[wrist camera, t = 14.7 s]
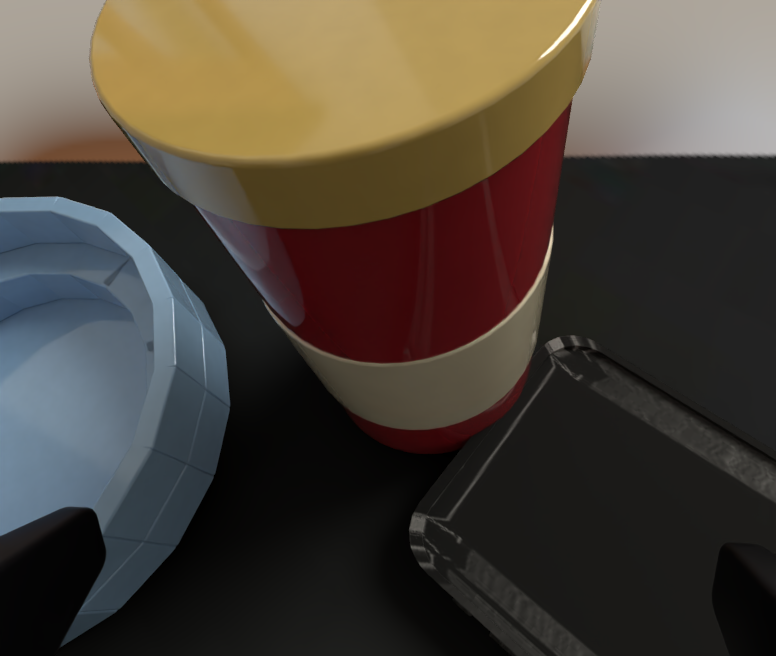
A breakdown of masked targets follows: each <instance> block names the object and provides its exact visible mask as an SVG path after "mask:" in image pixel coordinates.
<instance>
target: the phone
mask: <svg viewBox="0 0 776 656" xmlns="http://www.w3.org/2000/svg"><path fill="white" fill-rule="evenodd" d="M522 389H523V390H522V392H521V394H520V396H519V397H518V399H517V400H516V401H515V403H514V404H513V406H512V407H511V408H510V409H509V410H508V411H507V413H506V414H505V415H504V416H503V417H502V418H501V419H500V418H499V419H498V420H496V421H495V422H494V423H493V424H491V425H490V426H488V427H487V428H485V429H483V430H482V431H480V432H478V433H476V434H474V435H472V436H471V437H470V439H469V440H468V441H467V442H466V444H465V445H464V446H463V448H462V449H461V450H460V451H459V453H458V454H457V455H456V456H455V458H454V459H453V460H452V462H451V463H450V464H449V465H448V467H447V468H446V469H445V470H444V472H443V473H442V474H441V476H440V477H439V478H438V479H437V481H436V482H435V483H434V484H433V486H432V487H431V488H430V490H429V491H428V492H427V493H426V495H425V496H424V497H423V499H422V500H421V501H420V502H419V504H418V506H417V508H416V509H415V511H414V513H413V515H412V518H411V523H410V528H409V536H410V546H411V548H412V551H413V553H414V556H415V559H416V561H417V562H418V563H419V564H420V566H421V567H422V568H423V569H424V571H425V572H426V573H427V574H428V575H429V576H430V577H432V578H433V579H434V580H435V581H436V582H437V583H438V584H439V585H440V586H441V587H442V588H443V589H445V590H446V591H447V592H448V593H449V594H450V595H451V596H452V597H453V599H452V601H453V602H455V603H456V604H457V605H458V606H459V607H460V608H461V609H462V610H463V611H464V612H465V613H466V614H468V615H469V616H470V617H471V616H472V615H473V616H474V617H475V618H476V619H477V620H478V621H479V622H480V623H482V624H483V625H484V626H485V627H486V628H487V629H488V630H489V631H490V634H489V636H490V637H491V638H492V639H494V640H495V641H496V642H497V643H498V644H499V645H500V646H501V647H502V648H503V649H504V650H505V651H507V652H508V653H509V654H510V655H511V656H730V655H729V652H728V649H727V647H726V644H725V641H724V638H723V635H722V632H721V629H720V627H719V624H718V621H717V618H716V615H715V612H714V608H713V604H712V588H713V583H714V577H715V572H716V566H717V561H718V555H719V551H720V548H721V547H722V545H723V544H725V543H728V542H732V543H751V544H758V545H761V546H762V547H764V548H766V549H768V550H769V551H771V552H772V553H774V554H775V555H776V451H775V450H773V449H771V448H770V447H768V446H766V445H765V444H763V443H761V442H760V441H758V440H757V439H755V438H753V437H752V436H750V435H748V434H747V433H745V432H743V431H742V430H740V429H739V428H737V427H735V426H734V425H732V424H730V423H729V422H727V421H725V420H724V419H722V418H720V417H719V416H717V415H716V414H714V413H712V412H711V411H709V410H707V409H706V408H704V407H702V406H701V405H699V404H697V403H696V402H694V401H693V400H691V399H689V398H688V397H686V396H684V395H683V394H681V393H679V392H678V391H676V390H674V389H673V388H671V387H670V386H668V385H666V384H665V383H663V382H661V381H660V380H658V379H656V378H655V377H653V376H652V375H650V374H648V373H647V372H645V371H643V370H642V369H640V368H638V367H637V366H635V365H633V364H632V363H630V362H629V361H627V360H625V359H624V358H622V357H620V356H619V355H617V354H615V353H614V352H612V351H610V350H609V349H607V348H606V347H604V346H602V345H601V344H599V343H597V342H595V341H593V340H590V339H588V338H586V337H580V336H573V335H571V336H563V337H558V338H556V339H553V340H551V341H549V342H547V343H546V344H545V345H544V346H543V347H542V348H541V349H540V350H539V351H538V352H537V353H536V354H535V356H534V357H533V358H532V361H531V366H530V371H529V374H528V377H527V380H526V383H525V385H524V386H523V388H522Z"/></svg>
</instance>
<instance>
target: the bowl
mask: <svg viewBox="0 0 776 656" xmlns="http://www.w3.org/2000/svg"><path fill="white" fill-rule="evenodd" d="M229 407H230V396H229V385H228V374H227V363H226V352H225V348H224V345H223V343H222V341H221V339H220V337H219V335H218V333H217V331H216V329H215V326H214V324H213V322H212V320H211V318H210V316H209V314H208V312H207V310H206V308H205V306H204V304H203V303H202V302H201V300H200V299H199V298H198V297H197V296H196V295H195V294H194V293H193V292H192V291H191V290H190V288H189V287H188V286H187V285H186V284H185V283H184V282H183V281H182V280H181V279H180V278H179V277H178V276H177V274H176V273H175V272H174V271H173V270H172V269H171V268H170V267H169V266H168V265H167V264H166V263H165V261H164V260H163V259H162V258H161V257H160V256H159V255H158V254H157V253H156V252H155V251H154V250H153V249H152V247H151V246H150V245H149V244H147V243H146V242H145V241H144V240H143V239H142V238H140V237H139V236H138V235H137V234H136V233H134V232H133V231H132V230H131V229H130V228H129V227H127V226H126V225H125V224H124V223H123V222H121V221H120V220H119V219H118V218H117V217H116V216H114V215H113V214H112V213H110V212H107V211H104V210H101V209H98V208H94V207H91V206H88V205H85V204H81V203H78V202H75V201H72V200H69V199H65V198H62V197H19V198H2V199H1V198H0V536H1V535H4V534H6V533H8V532H10V531H12V530H15V529H17V528H19V527H21V526H23V525H26V524H28V523H30V522H32V521H34V520H37V519H39V518H41V517H43V516H45V515H48V514H50V513H52V512H54V511H56V510H59V509H61V508H63V507H69V506H73V507H88V508H91V509H93V510H94V511H95V513H96V514H97V517H98V521H99V524H100V528H101V532H102V536H103V539H104V543H105V547H106V560H105V563H104V566H103V568H102V570H101V572H100V574H99V576H98V578H97V580H96V581H95V583H94V585H93V587H92V589H91V591H90V592H89V594H88V596H87V598H86V600H85V601H84V603H83V605H82V607H81V609H80V611H79V612H78V614H77V616H76V618H75V620H74V622H73V623H72V625H71V627H70V629H69V631H68V633H67V634H66V636H65V638H64V640H63V642H62V643H61V645H60V647H62V646H63V645H65V644H66V643H68V642H70V641H71V640H73V639H74V638H76V637H78V636H79V635H81V634H82V633H84V632H85V631H87V630H89V629H90V628H92V627H93V626H95V625H97V624H98V623H100V622H101V621H103V620H104V619H106V618H108V617H109V616H111V615H112V614H114V613H115V612H117V610H118V609H120V608H121V607H122V606H123V605H124V604H125V603H126V602H127V601H128V600H129V599H130V598H131V596H132V595H133V594H134V593H135V592H136V591H137V590H138V589H139V588H140V587H141V586H142V584H143V583H144V582H145V581H146V580H147V579H148V578H149V577H150V576H151V575H152V574H153V572H154V571H155V570H156V569H157V568H158V567H159V566H160V565H161V564H162V563H163V562H164V561H165V559H166V558H167V557H168V556H169V555H170V554H171V553H172V552H173V551H174V550H175V548H176V546H177V545H178V544H179V542H180V540H181V538H182V537H183V535H184V533H185V531H186V529H187V527H188V525H189V523H190V522H191V520H192V518H193V516H194V514H195V512H196V510H197V508H198V507H199V505H200V503H201V501H202V499H203V497H204V495H205V493H206V492H207V490H208V488H209V486H210V484H211V482H212V480H213V478H214V476H213V475H215V473H216V469H217V464H218V460H219V456H220V451H221V447H222V442H223V438H224V433H225V429H226V424H227V420H228V416H229V411H230V408H229ZM60 647H59V648H60Z"/></svg>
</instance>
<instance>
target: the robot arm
mask: <svg viewBox="0 0 776 656" xmlns="http://www.w3.org/2000/svg"><path fill="white" fill-rule="evenodd" d="M105 560H106V547H105V543H104V539H103V536H102V532H101V528H100V524H99V521H98V517H97V514H96V513H95V511H94V510H93V509H91V508H88V507H73V506H69V507H63V508H61V509H59V510H56V511H54V512H52V513H50V514H48V515H45V516H43V517H41V518H39V519H37V520H34V521H32V522H30V523H28V524H26V525H23V526H21V527H19V528H17V529H15V530H12V531H10V532H8V533H6V534H4V535H1V536H0V656H55V654H56V652H57V651H58V649H59V647H60V645H61V643H62V642H63V640H64V638H65V636H66V634H67V633H68V631H69V629H70V627H71V625H72V623H73V622H74V620H75V618H76V616H77V614H78V612H79V611H80V609H81V607H82V605H83V603H84V601H85V600H86V598H87V596H88V594H89V592H90V591H91V589H92V587H93V585H94V583H95V581H96V580H97V578H98V576H99V574H100V572H101V570H102V568H103V566H104V563H105ZM712 604H713V608H714V612H715V615H716V618H717V621H718V624H719V627H720V629H721V632H722V635H723V638H724V641H725V644H726V647H727V649H728V652H729V655H730V656H776V555H775V554H774V553H772V552H771V551H769V550H768V549H766V548H764V547H762V546H761V545H758V544H751V543H732V542H728V543H725V544H723V545H722V547H721V548H720V551H719V555H718V561H717V566H716V572H715V577H714V583H713V588H712Z"/></svg>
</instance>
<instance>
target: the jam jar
mask: <svg viewBox="0 0 776 656" xmlns="http://www.w3.org/2000/svg"><path fill="white" fill-rule="evenodd" d="M600 5H601V0H106V1H105V3H104V5H103V7H102V9H101V12H100V14H99V16H98V18H97V20H96V23H95V26H94V30H93V34H92V37H91V43H90V55H89V61H90V68H91V75H92V81H93V85H94V87H95V90H96V92H97V95H98V97H99V100H100V102H101V104H102V105H103V107H104V108H105V109H106V111H107V112H108V114H109V115H110V117H111V118H112V119H113V121H114V122H115V123H116V125H117V126H118V127H119V128H120V130H121V131H122V132H123V134H124V135H125V136H126V137H127V139H128V140H129V141H130V143H131V144H132V145H133V147H134V148H135V149H136V150H137V152H138V153H139V154H140V155H141V157H142V158H143V159H144V161H145V162H146V163H147V165H148V166H149V167H150V168H151V170H152V171H153V172H154V174H155V175H156V176H157V177H158V178H159V179H160V180H161V181H162V182H163V183H164V184H165V185H167V186H168V187H169V188H170V189H171V190H172V191H173V192H175V193H176V194H178V195H179V196H181V197H182V198H184V199H185V200H187V201H189V202H190V203H191V204H192V205H193V206H194V208H195V209H196V210H197V212H198V213H199V214H200V216H201V217H202V218H203V220H204V221H205V222H206V224H207V225H208V227H209V228H210V229H211V231H212V232H213V233H214V235H215V236H216V237H217V239H218V240H219V241H220V243H221V244H222V245H223V247H224V248H225V249H226V251H227V252H228V253H229V255H230V256H231V257H232V259H233V260H234V262H235V263H236V264H237V266H238V267H239V268H240V270H241V271H242V272H243V274H244V275H245V276H246V278H247V279H248V280H249V282H250V283H251V284H252V286H253V287H254V288H255V290H256V291H257V293H258V294H259V295H260V297H261V298H262V300H263V302H264V304H265V306H266V308H267V310H268V311H269V313H270V314H271V316H272V317H273V318H274V320H275V321H276V322H277V324H278V325H279V326H280V328H281V329H282V330H283V332H284V333H285V334H286V336H287V337H288V338H289V340H290V341H291V342H292V344H293V345H294V346H295V348H296V349H297V350H298V352H299V353H300V354H301V356H302V357H303V358H304V360H305V361H306V362H307V364H308V365H309V366H310V368H311V369H312V370H313V371H314V373H315V374H316V375H317V377H318V378H319V379H320V381H321V382H322V383H323V385H324V386H325V387H326V389H327V390H328V391H329V393H330V394H331V395H332V396H333V397H334V398H335V399H336V400H337V401H338V402H339V403H340V404H341V406H342V407H343V408H344V410H345V411H346V412H347V414H348V415H349V416H350V418H351V419H352V420H353V422H354V423H355V424H356V425H357V426H358V427H359V428H360V429H361V430H362V431H364V432H365V433H366V434H368V435H369V436H370V437H372V438H373V439H375V440H377V441H378V442H380V443H382V444H384V445H386V446H389V447H392V448H394V449H397V450H401V451H405V452H409V453H418V454H439V453H446V452H452V451H455V450H459V449H462V448H463V446H464V445H465V444H466V442H467V441H468V440H469V439H470V437H471V436H472V435H474V434H476V433H478V432H480V431H482V430H483V429H485V428H487V427H488V426H490V425H491V424H493V423H494V422H495V421H496V420H498V419H499V418H500V419H501V418H502V417H503V416H504V415H505V414H506V413H507V411H508V410H509V409H510V408H511V407H512V406H513V404H514V403H515V401H516V400H517V399H518V397H519V396H520V394H521V392H522V390H523V389H522V388H523V386H524V385H525V383H526V380H527V377H528V374H529V371H530V366H531V361H532V355H533V351H534V349H535V346H536V341H537V335H538V330H539V324H540V318H541V312H542V305H543V299H544V293H545V287H546V281H547V275H548V269H549V263H550V257H551V250H552V244H553V221H554V214H555V208H556V202H557V195H558V189H559V182H560V176H561V170H562V163H563V157H564V150H565V143H566V138H567V130H568V125H569V118H570V112H571V105H572V99H573V96H574V95H575V93H576V91H577V89H578V88H579V86H580V85H581V83H582V81H583V78H584V75H585V73H586V70H587V68H588V65H589V63H590V60H591V55H592V50H593V44H594V38H595V33H596V27H597V22H598V16H599V10H600Z"/></svg>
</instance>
